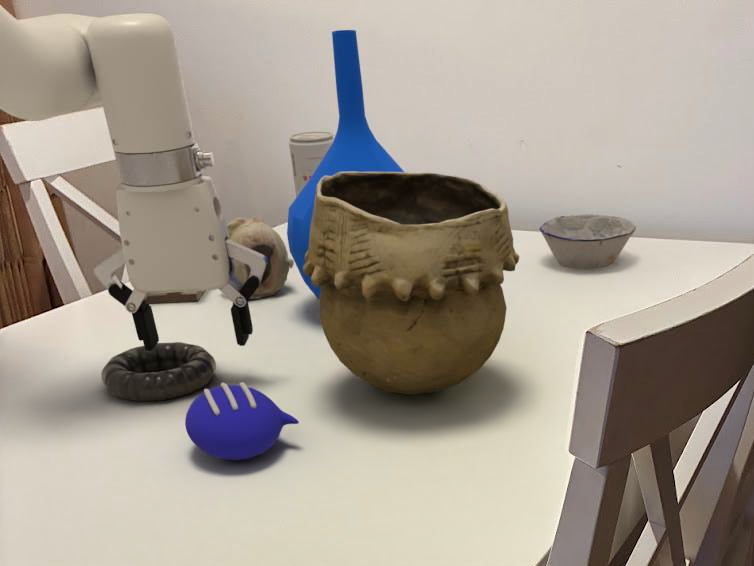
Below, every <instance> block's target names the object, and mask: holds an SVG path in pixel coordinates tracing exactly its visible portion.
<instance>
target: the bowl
mask: <svg viewBox="0 0 754 566" xmlns="http://www.w3.org/2000/svg"><path fill="white" fill-rule="evenodd" d="M636 227H637V226H636V224H635V223H634V222H632V221H631V220H629V219H626V218H622V217H619V216H614V215H603V214H602V215H599V214H593V213H589V214H587V213H586V214H578V215H577V214H576V215H565V216H564V215H561V216H555V217H554V218H552V219H550V220H548V221H546V222H544V223H543V224H541V225H540V227H539V231H540V232H541V234H542V236H543V238H544V240H545V242H546V244H547V245H548V247H549V249H550V251H551V253H552V255H553V256H554V258H555V260H556V261H557V263H558V264H559V265H560V266H563V267H566V268H570V269H576V270H577V269H579V270H590V269H591V270H592V269H599V268H605V267H609V266H611V265H613V264H614V263H615V262H616V260H617V259H618V257H619V256H620V254H621V252H622V251H623V249H624V248H625V246H626V244H627V243H628V241H629V240H630V238H631V237H632V236H633V234H634V232H635V231H636Z"/></svg>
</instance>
